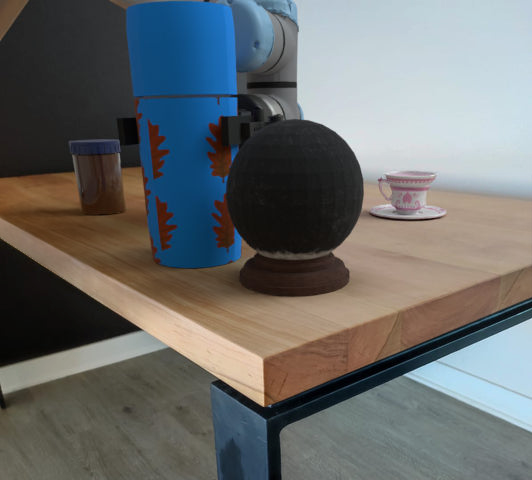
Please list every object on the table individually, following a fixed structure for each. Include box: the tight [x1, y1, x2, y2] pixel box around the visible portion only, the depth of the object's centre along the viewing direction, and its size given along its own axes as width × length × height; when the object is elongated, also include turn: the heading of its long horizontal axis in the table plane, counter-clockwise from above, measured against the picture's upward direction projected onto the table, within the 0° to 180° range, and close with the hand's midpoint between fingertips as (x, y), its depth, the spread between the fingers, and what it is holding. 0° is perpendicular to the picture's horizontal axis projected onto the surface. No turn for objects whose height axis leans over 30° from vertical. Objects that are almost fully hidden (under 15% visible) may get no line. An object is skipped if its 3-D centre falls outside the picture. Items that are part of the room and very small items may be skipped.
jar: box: [72, 152, 127, 216], centre depth 92 cm, size 8×8×11 cm
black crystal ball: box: [226, 119, 365, 297], centre depth 52 cm, size 13×13×15 cm
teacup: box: [369, 170, 447, 220], centre depth 86 cm, size 12×12×6 cm
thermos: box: [125, 1, 243, 269], centre depth 59 cm, size 11×11×25 cm
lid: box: [68, 138, 122, 155], centre depth 90 cm, size 8×8×2 cm
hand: (171, 131), depth 56 cm, fingers open, 11 cm apart
